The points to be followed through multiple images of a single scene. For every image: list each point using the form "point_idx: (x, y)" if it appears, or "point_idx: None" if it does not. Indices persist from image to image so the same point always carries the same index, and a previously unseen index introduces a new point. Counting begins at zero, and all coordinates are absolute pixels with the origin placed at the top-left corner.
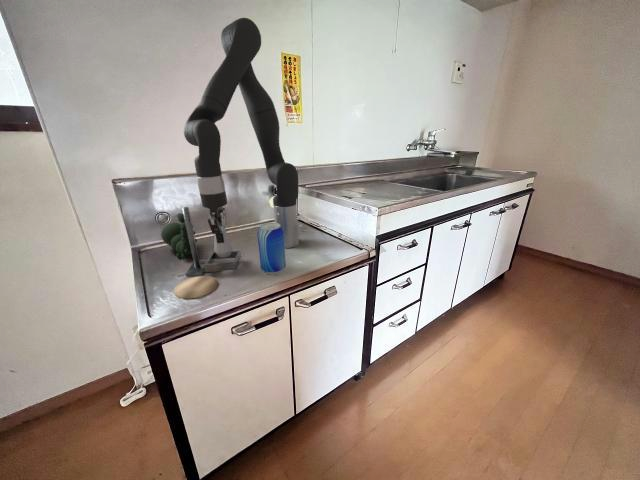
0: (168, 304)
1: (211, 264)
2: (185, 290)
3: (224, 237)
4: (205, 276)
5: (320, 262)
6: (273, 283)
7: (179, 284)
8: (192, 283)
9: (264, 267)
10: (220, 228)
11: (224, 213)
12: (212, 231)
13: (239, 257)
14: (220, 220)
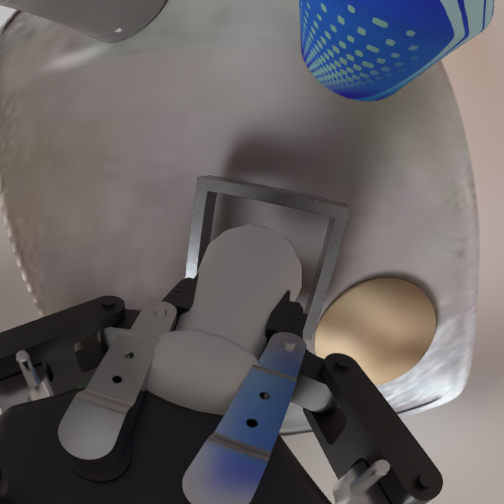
0: (417, 382)
1: (317, 314)
2: (387, 362)
3: (273, 298)
4: (326, 318)
5: None
6: (449, 90)
7: None
8: (356, 351)
9: (400, 88)
10: (295, 374)
11: (31, 344)
12: (343, 420)
13: (252, 184)
14: (277, 433)
